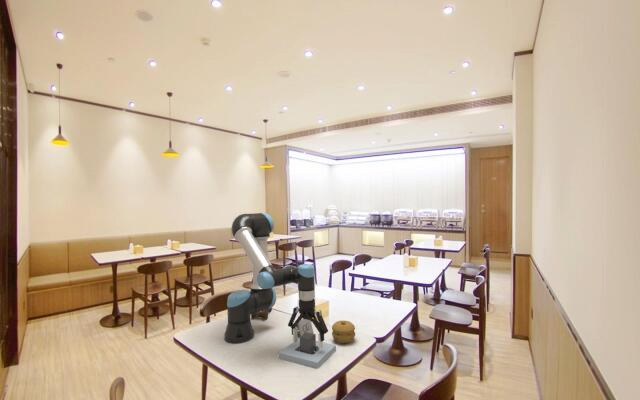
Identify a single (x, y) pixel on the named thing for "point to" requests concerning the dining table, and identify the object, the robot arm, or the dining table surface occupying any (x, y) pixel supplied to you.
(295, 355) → the socket plate
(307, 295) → the robot arm
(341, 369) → the dining table surface
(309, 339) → the plug
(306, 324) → the electrical switch
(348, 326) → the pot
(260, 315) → the kendama
